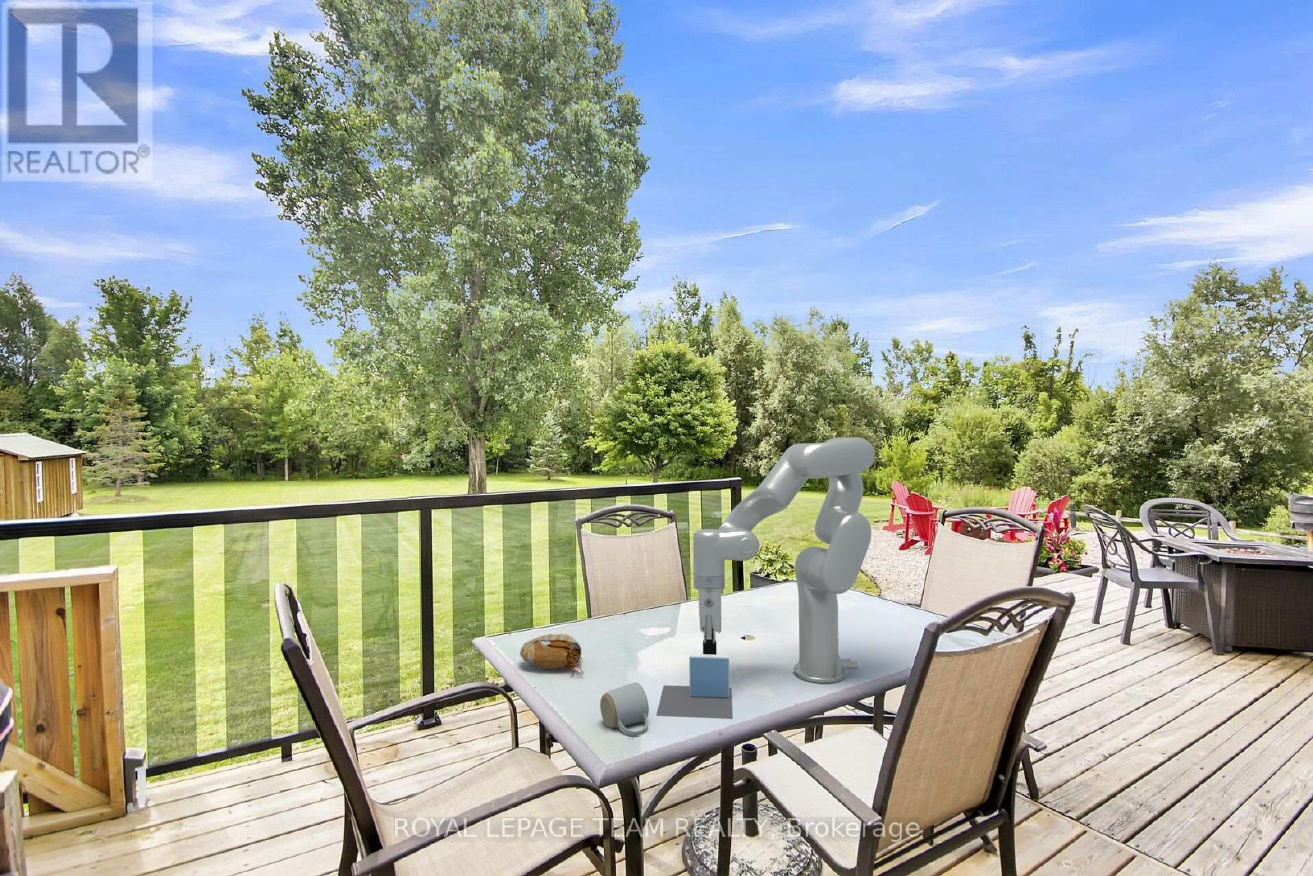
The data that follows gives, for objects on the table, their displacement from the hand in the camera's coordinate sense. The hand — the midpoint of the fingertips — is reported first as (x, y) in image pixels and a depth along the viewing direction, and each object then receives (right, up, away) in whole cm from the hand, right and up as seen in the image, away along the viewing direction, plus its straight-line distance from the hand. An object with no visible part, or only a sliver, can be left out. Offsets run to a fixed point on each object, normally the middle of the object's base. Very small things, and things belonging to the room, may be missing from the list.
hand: (709, 658), depth 142 cm
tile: (-1, -6, -7) cm, 9 cm away
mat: (-4, -7, -10) cm, 12 cm away
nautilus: (-39, -8, +12) cm, 41 cm away
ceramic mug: (-19, -7, -20) cm, 28 cm away
